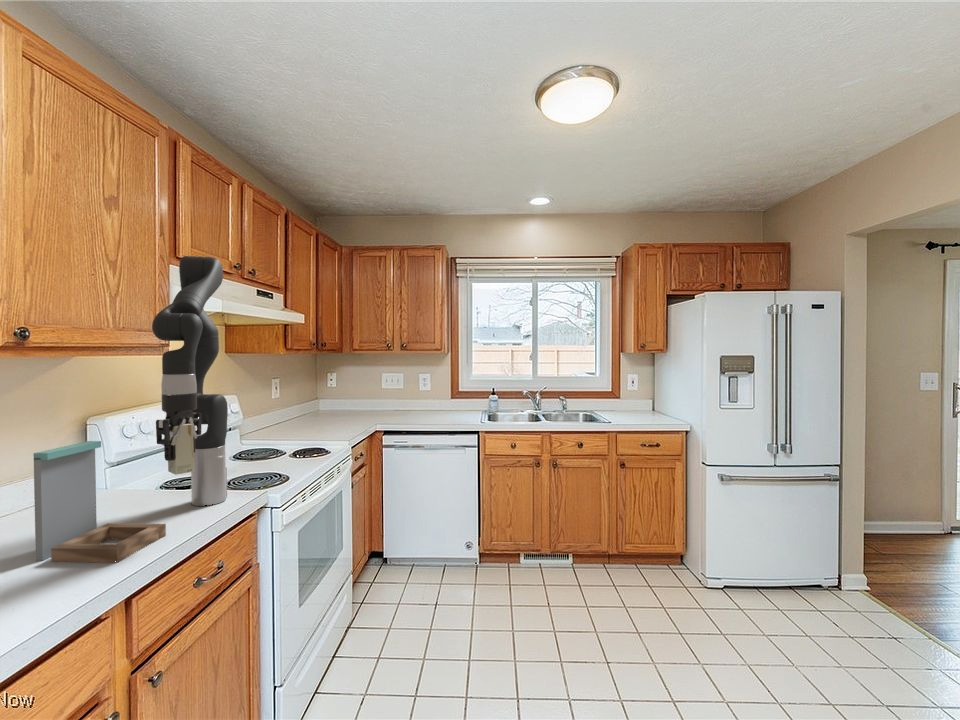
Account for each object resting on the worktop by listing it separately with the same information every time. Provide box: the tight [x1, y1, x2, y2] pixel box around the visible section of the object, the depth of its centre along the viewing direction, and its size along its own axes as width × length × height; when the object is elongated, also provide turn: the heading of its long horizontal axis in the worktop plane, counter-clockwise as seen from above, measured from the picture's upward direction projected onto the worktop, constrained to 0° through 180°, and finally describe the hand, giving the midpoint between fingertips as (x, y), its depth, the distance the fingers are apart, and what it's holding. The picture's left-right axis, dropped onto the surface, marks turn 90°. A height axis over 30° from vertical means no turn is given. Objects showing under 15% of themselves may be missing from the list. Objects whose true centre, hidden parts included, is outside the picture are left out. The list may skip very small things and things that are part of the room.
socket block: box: [50, 522, 167, 563], centre depth 110 cm, size 15×15×3 cm
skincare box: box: [167, 424, 194, 476], centre depth 118 cm, size 6×4×12 cm
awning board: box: [33, 440, 102, 562], centre depth 110 cm, size 14×3×24 cm, turn 178°
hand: (180, 456), depth 118 cm, fingers closed on skincare box, 7 cm apart
